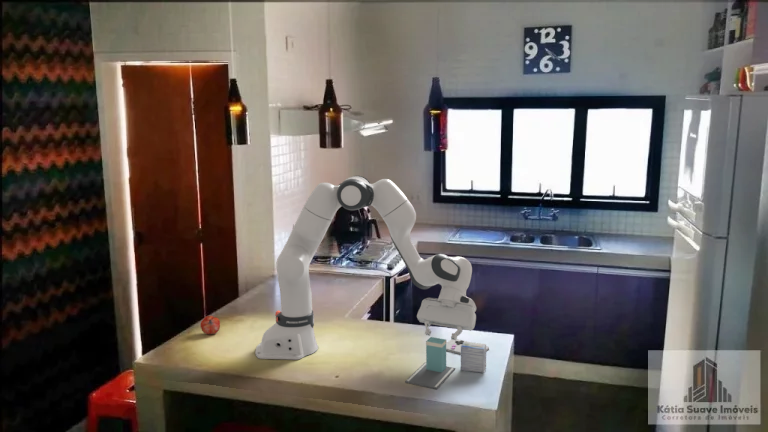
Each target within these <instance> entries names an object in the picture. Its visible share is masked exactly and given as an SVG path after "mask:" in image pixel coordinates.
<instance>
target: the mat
mask: <svg viewBox="0 0 768 432" xmlns="http://www.w3.org/2000/svg"><path fill="white" fill-rule="evenodd" d="M455 370H456V368H455V367H451V366H447V365H446V369H445V370H444V371H443V372H437V371H432V370H427V369H426V361H425V362H424V363H423V364H422V365H421V366H419V368H418V369H417V370H415V371H414V372H413V373H412V374H411V375H410V376H409V377H408V378H407V379H406V380H405V381H404V382H405V383H406V384H409V385H410V384H411V385H414V386H415V385H416V386H419V387H425V388H430V389H434V390H438V389H439V388H440V387H441V385H442V384H443V383H445V381H446V380H447V379H448V378H449V377H450V376H451V375H452V374H453V372H454V371H455Z"/></svg>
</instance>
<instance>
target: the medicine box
mask: <svg viewBox="0 0 768 432" xmlns="http://www.w3.org/2000/svg"><path fill="white" fill-rule="evenodd" d="M486 346H487V344H486V343H481V342H472V341H471V342H470V341H467V342H463V344H462V345H461V354H460V370H461V371H466V372H474V373H483V374H484V373H485V372H486V369H487V351H486Z"/></svg>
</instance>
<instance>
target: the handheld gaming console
mask: <svg viewBox="0 0 768 432" xmlns="http://www.w3.org/2000/svg"><path fill="white" fill-rule="evenodd" d="M463 342H468V341H467V340H462V339H458V338H457V340H452V339H450V340H448V341H446V352H451V353H453V354H458V355H461V345H462V344H463ZM489 350H490V348H489V346H487V345H486V352H487V351H489Z"/></svg>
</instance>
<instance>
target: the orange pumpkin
mask: <svg viewBox="0 0 768 432" xmlns="http://www.w3.org/2000/svg"><path fill="white" fill-rule="evenodd" d="M199 325H200V329H201V331H202V333H204V334H205V335H214V334H217V333H218V332H219V331H220V328H221V321H220V319H219V318H218V317H215V316H213V315H207V316H204V318H203V319H202V320H201V321H200V324H199Z"/></svg>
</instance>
